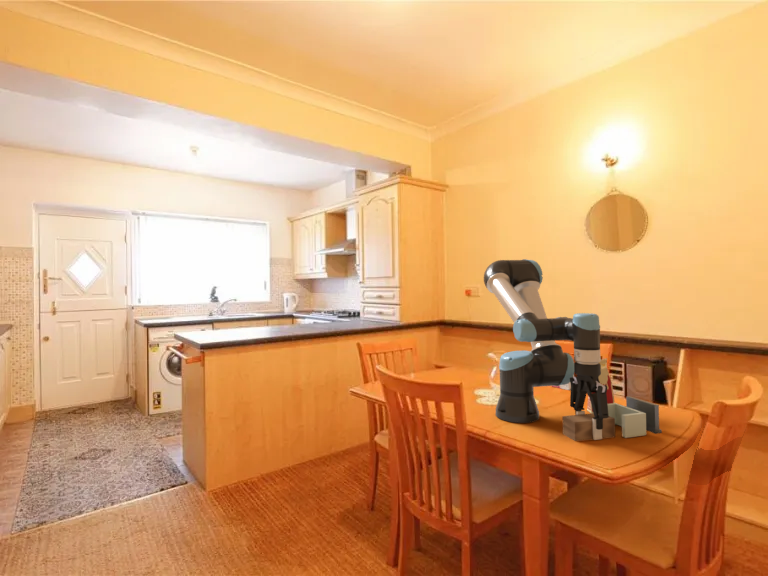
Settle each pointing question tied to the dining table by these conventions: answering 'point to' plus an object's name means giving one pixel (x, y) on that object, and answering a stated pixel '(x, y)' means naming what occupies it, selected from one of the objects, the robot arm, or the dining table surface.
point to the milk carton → (604, 380)
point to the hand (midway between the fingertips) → (589, 434)
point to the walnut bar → (586, 427)
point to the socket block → (628, 420)
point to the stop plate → (647, 408)
